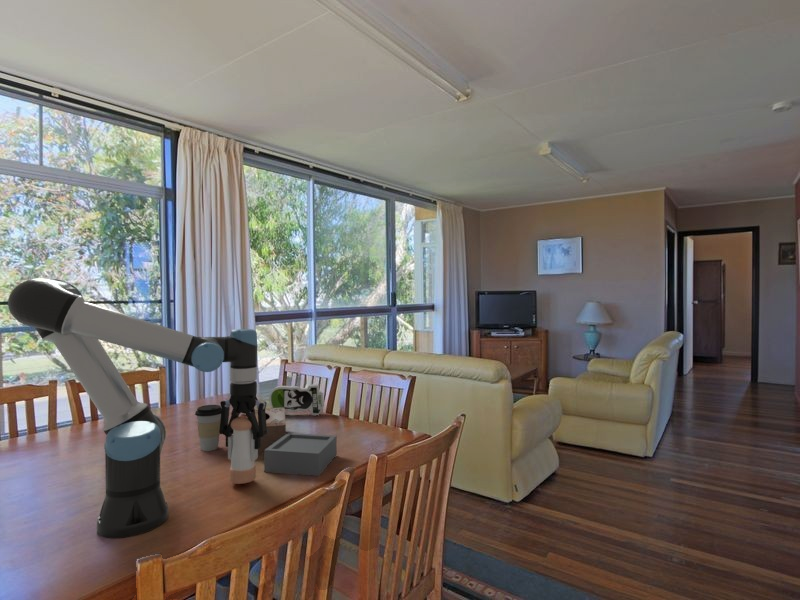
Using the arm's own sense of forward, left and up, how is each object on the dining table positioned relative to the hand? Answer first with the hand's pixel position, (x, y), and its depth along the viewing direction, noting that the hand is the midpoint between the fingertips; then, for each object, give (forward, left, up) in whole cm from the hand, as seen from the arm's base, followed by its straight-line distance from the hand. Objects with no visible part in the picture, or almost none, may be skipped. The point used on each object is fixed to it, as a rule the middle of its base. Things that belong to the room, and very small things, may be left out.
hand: (242, 458), depth 134 cm
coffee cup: (+26, +28, -8) cm, 39 cm away
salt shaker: (0, 0, -6) cm, 6 cm away
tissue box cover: (+36, +11, -8) cm, 39 cm away
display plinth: (+18, -11, -7) cm, 23 cm away
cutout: (+75, +14, -8) cm, 76 cm away
